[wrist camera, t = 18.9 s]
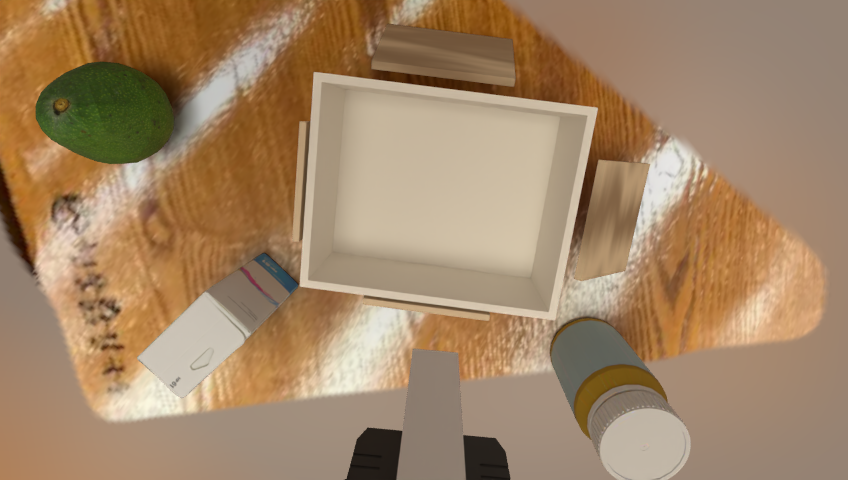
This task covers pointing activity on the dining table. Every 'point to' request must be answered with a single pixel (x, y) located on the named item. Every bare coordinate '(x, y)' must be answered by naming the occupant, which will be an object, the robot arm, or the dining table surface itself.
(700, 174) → the dining table surface
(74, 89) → the fruit
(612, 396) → the bottle
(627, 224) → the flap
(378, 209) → the carton
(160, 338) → the ink box
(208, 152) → the dining table surface
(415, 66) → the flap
